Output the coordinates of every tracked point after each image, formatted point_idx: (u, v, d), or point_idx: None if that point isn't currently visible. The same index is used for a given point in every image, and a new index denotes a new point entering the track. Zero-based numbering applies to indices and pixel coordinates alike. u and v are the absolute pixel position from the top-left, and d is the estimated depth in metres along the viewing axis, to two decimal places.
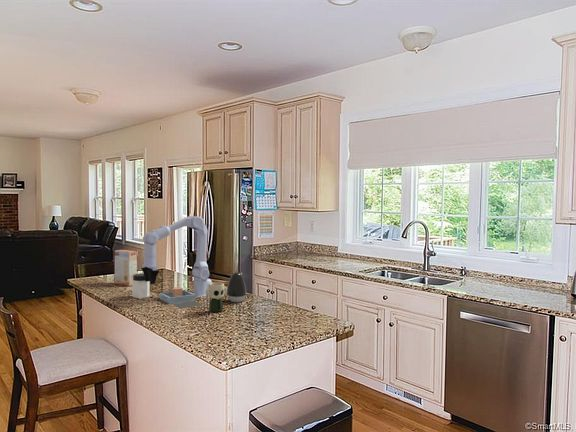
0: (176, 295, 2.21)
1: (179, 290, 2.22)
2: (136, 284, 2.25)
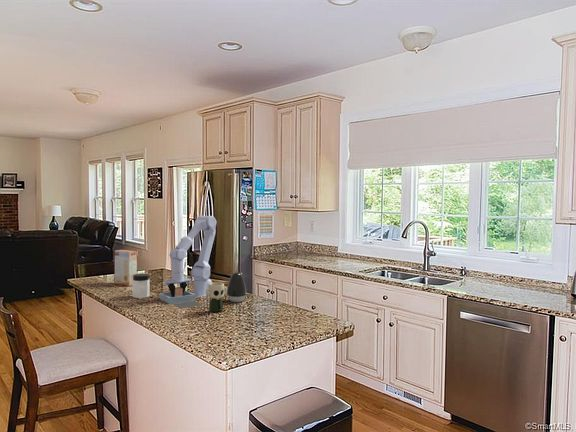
0: (176, 295, 2.21)
1: (179, 290, 2.22)
2: (136, 284, 2.25)
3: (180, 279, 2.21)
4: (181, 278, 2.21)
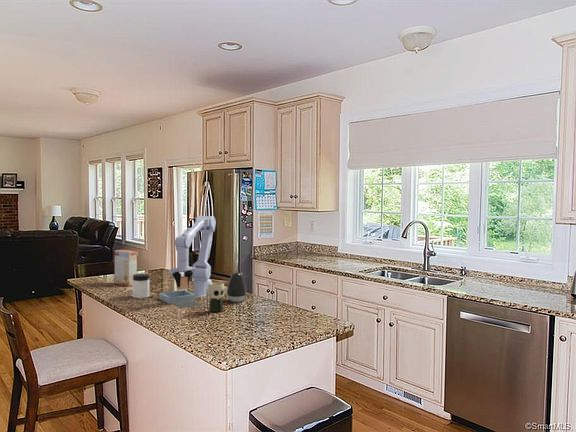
0: (181, 284, 2.15)
1: (184, 279, 2.16)
2: (136, 284, 2.25)
3: (186, 267, 2.15)
4: (187, 266, 2.16)
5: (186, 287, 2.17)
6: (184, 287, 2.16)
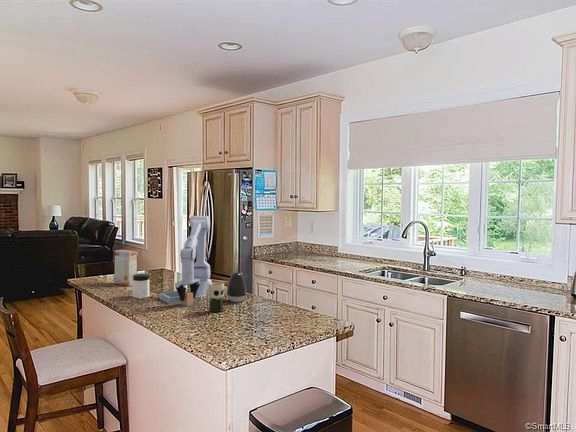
0: (188, 300, 2.11)
1: (190, 294, 2.12)
2: (136, 284, 2.25)
3: (192, 280, 2.11)
4: (193, 279, 2.12)
5: (192, 303, 2.13)
6: (190, 303, 2.12)
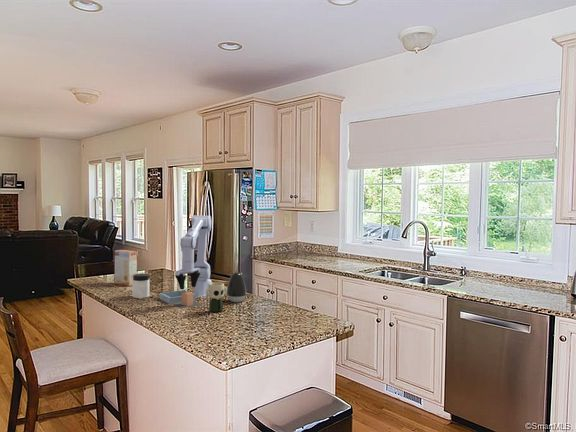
0: (188, 300, 2.11)
1: (190, 294, 2.12)
2: (136, 284, 2.25)
3: (192, 268, 2.11)
4: (193, 267, 2.12)
5: (192, 303, 2.13)
6: (190, 303, 2.12)
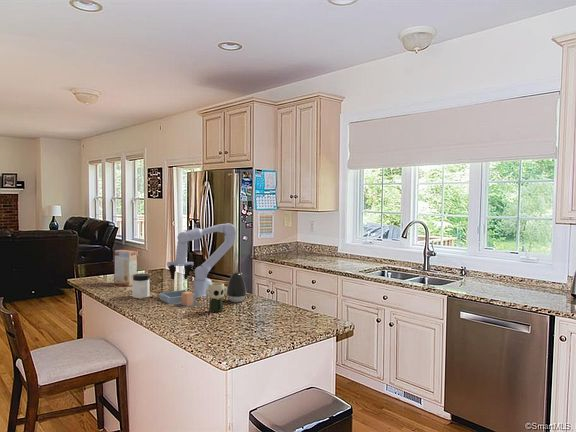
0: (188, 300, 2.11)
1: (190, 294, 2.12)
2: (136, 284, 2.25)
3: (183, 261, 2.30)
4: (184, 261, 2.31)
5: (192, 303, 2.13)
6: (190, 303, 2.12)
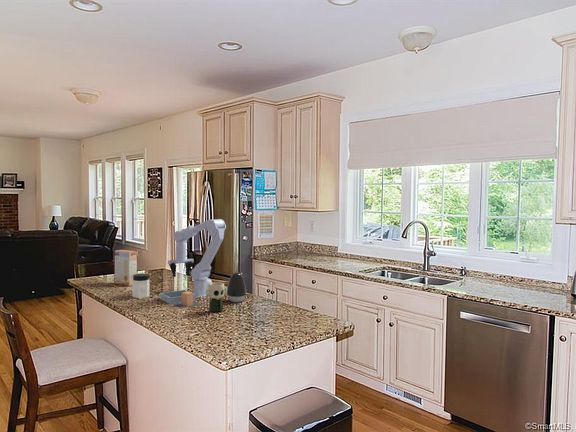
0: (188, 300, 2.11)
1: (190, 294, 2.12)
2: (136, 284, 2.25)
3: (183, 259, 2.40)
4: (184, 258, 2.40)
5: (192, 303, 2.13)
6: (190, 303, 2.12)
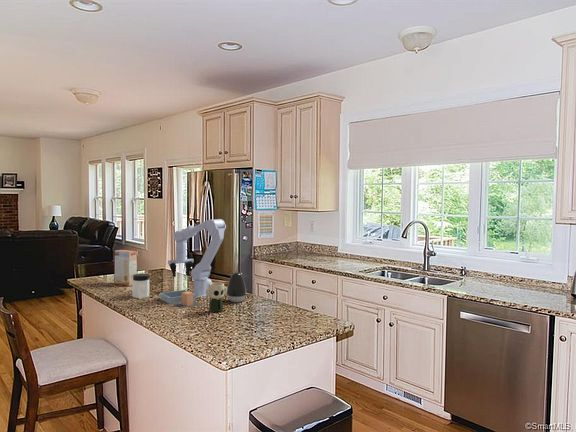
0: (188, 300, 2.11)
1: (190, 294, 2.12)
2: (136, 284, 2.25)
3: (183, 259, 2.40)
4: (184, 258, 2.40)
5: (192, 303, 2.13)
6: (190, 303, 2.12)
